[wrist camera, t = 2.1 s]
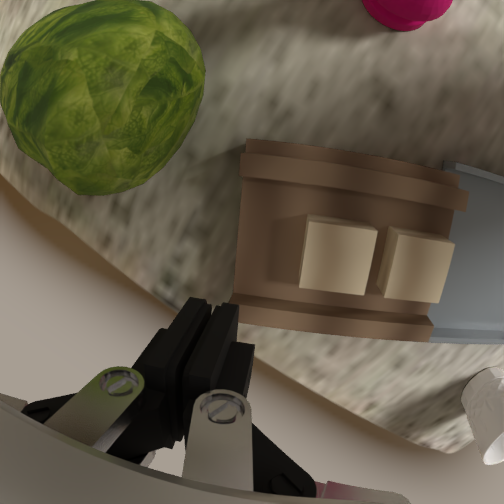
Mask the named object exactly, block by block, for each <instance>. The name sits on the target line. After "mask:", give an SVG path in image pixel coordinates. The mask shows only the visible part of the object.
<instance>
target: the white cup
mask: <svg viewBox="0 0 504 504" xmlns="http://www.w3.org/2000/svg"><path fill="white" fill-rule="evenodd" d="M461 402H462V404H463V407H464V409H465V411H466V415H467V419H468V421H469V425H470V427H471V430H472V433H473V436H474V438H475V441H476V443H477V446H478V449H479V452H480V454H481V457H482V460H483V462H484V464H486V465H494V464H497V463H500V462H503V461H504V371H503V370H502V369H500V368H498V367H491V368H487V369H485V370H483V371H481V372H480V373H478V374H477V375H476V376H475V377H473V378H472V379H471V380H470V381H469V382H468V384H467V385H466V387H465V388H464V390H463V392H462V396H461Z"/></svg>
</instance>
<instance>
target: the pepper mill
mask: <svg viewBox="0 0 504 504" xmlns="http://www.w3.org/2000/svg"><path fill="white" fill-rule="evenodd" d="M362 1H363V4H364V6H365V8H366V9H367V11H368V12H369V13H370V15H371V16H372V17H374V18H375V19H376V20H377V21H378V22H380V23H382V24H383V25H385V26H387V27H389V28H392V29H395V30H400V31H411V30H415V29H418V28H419V27H421V26H422V25H423V24H424V23H425V22H426V21H432V20H434V19H437V18H439V17H440V16H442V15H443V14H444V13H445V12H446V11H447V9H448V8H449V7H450V5H451V3H452V1H453V0H362Z"/></svg>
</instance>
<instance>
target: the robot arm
mask: <svg viewBox="0 0 504 504" xmlns="http://www.w3.org/2000/svg"><path fill="white" fill-rule="evenodd" d="M211 313H212V306H211V304H207V301H206V300H205V299H199V298H193V297H190V298H189V299H188V300H187V302H186V303H185V305H184V306H183V308H182V309H181V310H180V312H179V313H178V315H177V316H176V318H175V319H174V320H173V322H172V323H171V325H170V326H169V328H168V329H164V328H161V329H159V330H158V332H157V333H156V335H155V336H154V337H153V339H152V340H151V342H150V343H149V344H148V346H147V347H146V348H145V350H144V351H143V352H142V354H141V355H140V357H139V358H138V359H137V361H136V362H135V364H134V365H133V366H132V368H128V367H119V366H118V367H111V368H108V369H105V370H103V371H102V372H100V373H99V374H98V375H97V376H96V377H94V378H93V379H92V380H91V381H90V382H89V383H88V384H87V385H86V386H85V387H83V388H82V389H81V390H80V391H79V392H78V393H75V394H69V395H65V396H61V397H55V398H50V399H45V400H40V401H35V402H32V403H30V404H28V403H27V401H25V400H21V399H18V398H14V397H11V396H8V395H4V394H1V393H0V504H411V503H410V502H409V500H408V499H407V498H405V497H404V496H403V495H401V494H398V493H394V492H388V491H380V490H374V489H367V488H361V487H355V486H350V485H345V484H340V483H335V482H331V481H327V483H326V484H324V483H320V482H315V481H314V480H313V479H312V477H311V476H310V475H309V474H308V473H307V472H306V471H304V470H303V469H302V468H301V467H300V466H299V465H297V464H296V463H295V462H294V461H293V460H291V458H289V457H288V456H287V455H286V454H285V453H284V452H283V451H282V450H280V449H279V448H278V447H277V446H276V445H275V444H274V443H273V442H272V441H271V440H269V439H268V438H267V437H266V436H265V435H264V434H263V433H262V432H261V431H260V430H259V429H258V428H257V427H256V426H255V425H254V424H253V423H252V418H251V417H252V416H251V406H250V403H249V402H248V401H247V399H246V397H247V393H248V388H249V383H250V378H251V372H252V366H253V358H254V349H255V344H248V343H241V342H236V341H237V329H238V318H239V305H237V304H231V303H224V302H223V303H222V305H221V306H217V305H216V307H215V309H214V311H213V313H212V315H211ZM183 436H184V439H185V450H186V454H185V460H184V466H183V472H182V477H178V476H175V475H171V474H167V473H164V472H160V471H157V470H154V469H150V468H147V467H148V466H149V465H150V463H151V462H152V460H153V459H154V457H155V454H156V450H157V449H160V448H163V447H166V448H170V449H172V448H173V446H174V443H175V441H179V442H180V441H181V440H182V438H183Z"/></svg>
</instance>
